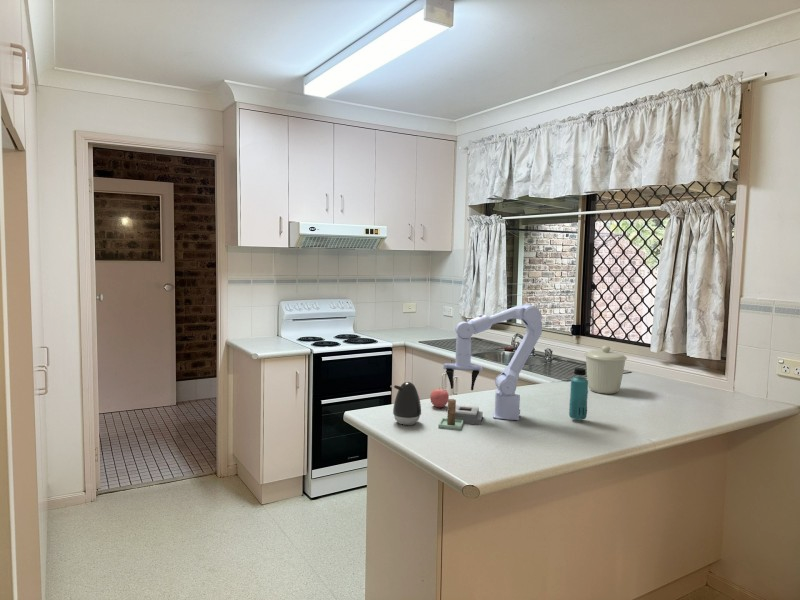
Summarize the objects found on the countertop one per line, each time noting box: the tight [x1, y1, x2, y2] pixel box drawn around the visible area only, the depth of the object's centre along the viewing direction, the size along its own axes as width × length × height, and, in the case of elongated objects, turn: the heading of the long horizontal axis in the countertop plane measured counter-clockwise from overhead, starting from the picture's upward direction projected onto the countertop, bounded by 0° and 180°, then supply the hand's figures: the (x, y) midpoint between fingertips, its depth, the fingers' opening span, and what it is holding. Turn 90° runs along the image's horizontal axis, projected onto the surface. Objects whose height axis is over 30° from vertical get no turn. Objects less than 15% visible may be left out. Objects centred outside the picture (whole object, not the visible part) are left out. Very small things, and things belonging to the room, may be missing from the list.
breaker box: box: [446, 404, 484, 426], centre depth 209 cm, size 12×10×4 cm
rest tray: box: [437, 417, 465, 431], centre depth 202 cm, size 8×8×1 cm
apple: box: [429, 387, 450, 408], centre depth 224 cm, size 7×7×8 cm
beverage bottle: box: [568, 367, 589, 420], centre depth 210 cm, size 6×7×20 cm
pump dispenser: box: [392, 381, 422, 426], centre depth 203 cm, size 10×10×15 cm
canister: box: [584, 345, 628, 395], centre depth 255 cm, size 18×18×21 cm
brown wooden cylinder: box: [446, 398, 457, 426], centre depth 201 cm, size 3×3×9 cm
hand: (462, 388), depth 213 cm, fingers open, 7 cm apart
